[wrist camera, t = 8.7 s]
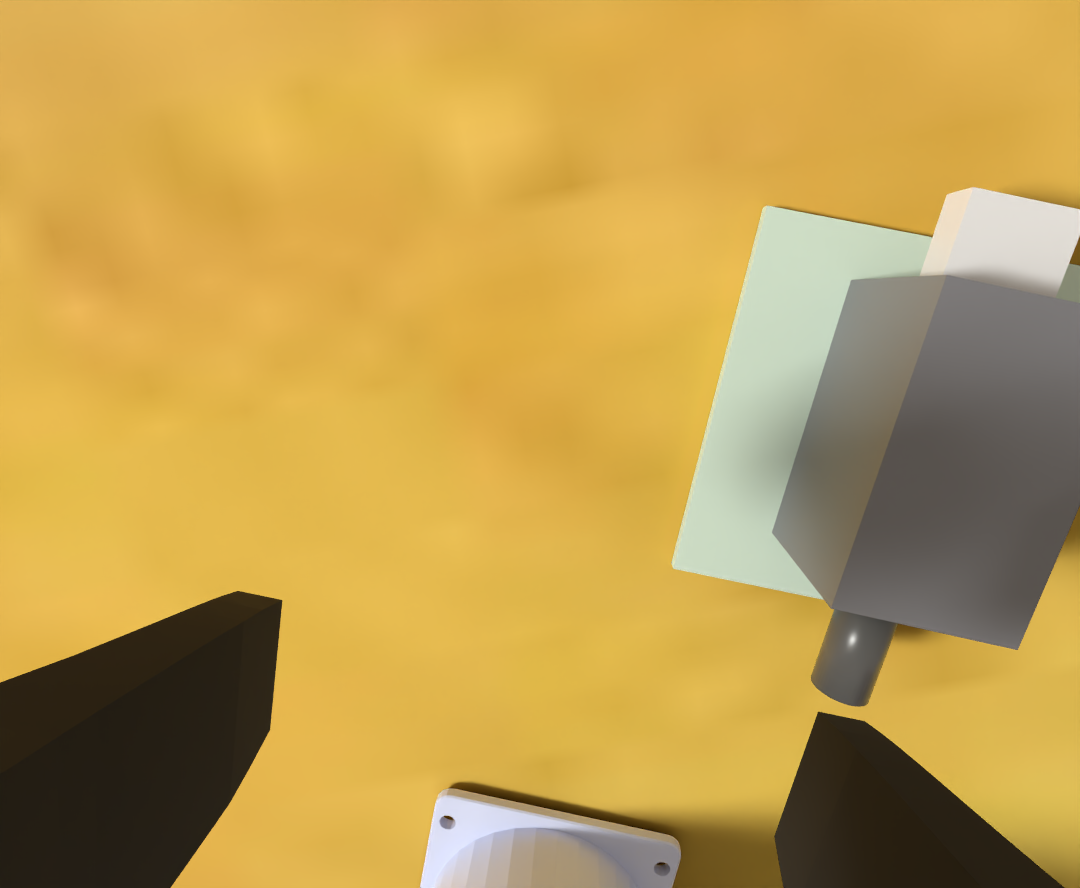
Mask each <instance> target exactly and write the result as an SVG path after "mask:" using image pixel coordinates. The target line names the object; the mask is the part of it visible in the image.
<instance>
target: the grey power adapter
mask: <svg viewBox="0 0 1080 888" xmlns="http://www.w3.org/2000/svg"><path fill="white" fill-rule="evenodd" d="M1079 236H1080V209H1076V208H1071V207H1066V206H1061V205H1056V204H1052V203H1047V202H1042V201H1037V200H1033V199H1028V198H1023V197H1018V196H1014V195H1009V194H1004V193H999V192H994V191H990V190H985V189H980V188H975V187H972V188H968V189H965V190H961V191H957V192H954V193H950V194H947V196H946V199H945V202H944V205H943V208H942V211H941V214H940V217H939V220H938V223H937V226H936V229H935V232H934V235H933V238H932V241H931V243H930V246H929V249H928V252H927V255H926V258H925V261H924V264H923V267H922V270H921V273H920V276H915V277H896V278H877V279H859V280H851V282H850V285H849V288H848V291H847V295H846V298H845V301H844V304H843V307H842V311H841V314H840V317H839V320H838V323H837V326H836V330H835V333H834V336H833V339H832V342H831V346H830V349H829V352H828V355H827V358H826V362H825V365H824V368H823V371H822V374H821V377H820V381H819V384H818V387H817V390H816V393H815V397H814V400H813V403H812V406H811V409H810V412H809V416H808V419H807V422H806V425H805V428H804V432H803V435H802V438H801V441H800V444H799V448H798V451H797V454H796V457H795V460H794V463H793V467H792V470H791V473H790V476H789V479H788V483H787V486H786V489H785V492H784V495H783V498H782V502H781V505H780V508H779V511H778V514H777V518H776V521H775V524H774V527H773V530H772V534H773V535H774V536H775V537H776V539H777V540H778V541H779V542H780V544H781V545H782V546H783V548H784V549H785V550H786V551H787V553H788V554H789V555H790V557H791V558H792V559H793V560H794V562H795V563H796V564H797V566H798V567H799V568H800V569H801V571H802V572H803V573H804V575H805V576H806V577H807V578H808V580H809V581H810V582H811V584H812V585H813V586H814V587H815V589H816V590H817V591H818V592H819V594H820V595H821V596H822V598H823V599H824V600H825V601H826V603H827V604H828V605H829V607H830V608H831V609H834V612H833V615H832V618H831V621H830V624H829V626H828V629H827V632H826V635H825V638H824V641H823V644H822V646H821V649H820V652H819V655H818V658H817V661H816V664H815V666H814V669H813V672H812V675H811V681H812V683H813V684H814V685H815V687H816V688H817V689H819V690H820V691H821V692H822V693H824V694H825V695H827V696H828V697H830V698H832V699H834V700H836V701H838V702H841V703H844V704H847V705H851V706H865V705H867V704H868V702H869V699H870V697H871V694H872V691H873V689H874V686H875V683H876V681H877V678H878V675H879V673H880V670H881V667H882V665H883V662H884V659H885V657H886V654H887V651H888V649H889V646H890V644H891V641H892V638H893V636H894V633H895V630H896V628H897V625H898V623H899V624H903V625H907V626H912V627H916V628H921V629H925V630H930V631H934V632H939V633H943V634H948V635H952V636H957V637H961V638H966V639H970V640H975V641H979V642H984V643H988V644H993V645H997V646H1002V647H1006V648H1011V649H1015V650H1018V648H1019V646H1020V643H1021V641H1022V639H1023V636H1024V634H1025V632H1026V629H1027V627H1028V625H1029V622H1030V620H1031V618H1032V615H1033V613H1034V611H1035V608H1036V606H1037V604H1038V601H1039V599H1040V597H1041V594H1042V592H1043V590H1044V588H1045V585H1046V583H1047V581H1048V578H1049V576H1050V574H1051V571H1052V569H1053V567H1054V564H1055V562H1056V560H1057V557H1058V555H1059V553H1060V550H1061V548H1062V546H1063V543H1064V541H1065V539H1066V536H1067V534H1068V532H1069V529H1070V527H1071V525H1072V522H1073V520H1074V518H1075V516H1076V513H1077V511H1078V509H1079V506H1080V303H1077V302H1072V301H1068V300H1063V299H1058V298H1056V295H1057V293H1058V290H1059V288H1060V285H1061V283H1062V280H1063V277H1064V275H1065V272H1066V270H1067V267H1068V265H1069V262H1070V259H1071V257H1072V254H1073V252H1074V249H1075V247H1076V244H1077V241H1078V239H1079Z"/></svg>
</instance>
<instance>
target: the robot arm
mask: <svg viewBox="0 0 1080 888" xmlns="http://www.w3.org/2000/svg"><path fill="white" fill-rule="evenodd" d="M281 608H282V600H279V599H274V598H269V597H264V596H260V595H255V594H250V593H245V592H240V591H236V592H233V593H230V594H227V595H224V596H221V597H218V598H216V599H213V600H210V601H208V602H205V603H202V604H200V605H197V606H195V607H192V608H190V609H187V610H185V611H183V612H180V613H178V614H175V615H173V616H170V617H168V618H165V619H163V620H161V621H158V622H156V623H153V624H151V625H148V626H146V627H143V628H141V629H138V630H136V631H134V632H131V633H129V634H126V635H124V636H121V637H119V638H116V639H114V640H111V641H109V642H106V643H104V644H101V645H99V646H96V647H94V648H91V649H89V650H86V651H84V652H82V653H79V654H76V655H74V656H71V657H69V658H66V659H63V660H61V661H58V662H55V663H52V664H50V665H47V666H44V667H41V668H39V669H36V670H33V671H31V672H28V673H25V674H22V675H20V676H17V677H14V678H12V679H9V680H6V681H3V682H1V683H0V888H170V887H171V886H172V885H173V883H174V882H175V880H176V879H177V878H178V876H179V875H180V873H181V872H182V871H183V869H184V868H185V866H186V865H187V864H188V862H189V861H190V859H191V858H192V856H193V855H194V854H195V852H196V851H197V849H198V848H199V846H200V845H201V844H202V842H203V841H204V839H205V838H206V836H207V835H208V834H209V832H210V831H211V829H212V828H213V827H214V825H215V824H216V822H217V821H218V819H219V818H220V816H221V815H222V814H223V812H224V811H225V809H226V808H227V806H228V805H229V803H230V802H231V800H232V798H233V796H234V795H235V793H236V791H237V789H238V787H239V786H240V784H241V782H242V780H243V779H244V777H245V775H246V773H247V772H248V770H249V768H250V766H251V764H252V762H253V760H254V759H255V757H256V755H257V753H258V751H259V749H260V747H261V745H262V744H263V742H264V740H265V738H266V736H267V734H268V732H269V731H270V724H271V713H272V703H273V692H274V682H275V671H276V661H277V650H278V639H279V629H280V618H281ZM444 816H451V817H453V818H454V819H453V820H449V819H446V818H445V817H444ZM774 837H775V843H776V848H777V854H778V860H779V865H780V871H781V876H782V882H783V887H784V888H1064V887H1063V886H1062V885H1061V884H1059V883H1058V882H1057V881H1056V880H1054V879H1053V878H1052V877H1051V876H1050V875H1048V874H1047V873H1046V872H1045V871H1044V870H1042V869H1041V868H1040V867H1039V866H1038V865H1036V864H1035V863H1034V862H1033V861H1032V860H1031V859H1029V858H1028V857H1027V856H1026V855H1025V854H1023V853H1022V852H1021V851H1020V850H1019V849H1017V848H1016V847H1015V846H1014V845H1013V844H1012V843H1010V842H1009V841H1008V840H1007V839H1006V838H1005V837H1003V836H1002V835H1001V834H1000V833H999V832H998V831H996V830H995V829H994V828H993V827H992V826H991V825H989V824H988V823H987V822H986V821H985V820H984V819H982V818H981V817H980V816H979V815H978V814H977V813H975V812H974V811H973V810H972V809H971V808H970V807H968V806H967V805H966V804H965V803H964V802H963V801H961V800H960V799H959V798H958V797H957V796H956V795H954V794H953V793H952V792H951V791H950V790H949V789H947V788H946V787H945V786H944V785H943V784H942V783H941V782H939V781H938V780H937V779H936V778H935V777H934V776H932V775H931V774H930V773H929V772H928V771H926V770H925V769H924V768H923V767H922V766H921V765H919V764H918V763H917V762H916V761H915V760H913V759H912V758H911V757H910V756H909V755H907V754H906V753H905V752H904V751H903V750H901V749H900V748H899V747H898V746H897V745H895V744H894V743H893V742H892V741H890V740H889V739H888V738H887V737H885V736H884V735H883V734H881V733H880V732H879V731H877V730H876V729H875V728H873V727H872V726H870V725H869V724H868V723H866V722H865V721H860V720H856V719H851V718H846V717H841V716H836V715H832V714H827V713H822V712H818V714H817V717H816V720H815V722H814V725H813V728H812V731H811V734H810V737H809V740H808V742H807V745H806V748H805V751H804V754H803V757H802V759H801V762H800V765H799V768H798V771H797V774H796V777H795V779H794V782H793V785H792V788H791V791H790V794H789V796H788V799H787V802H786V805H785V808H784V811H783V814H782V816H781V819H780V822H779V825H778V828H777V831H776V833H775V836H774ZM680 860H681V850H680V845H679V843H678V841H677V840H676V839H675V838H674V837H673V836H670V835H667V834H663V833H658V832H653V831H649V830H644V829H639V828H635V827H630V826H626V825H621V824H616V823H612V822H607V821H602V820H598V819H593V818H588V817H584V816H579V815H575V814H570V813H565V812H561V811H556V810H551V809H547V808H542V807H537V806H533V805H528V804H524V803H519V802H514V801H510V800H505V799H500V798H496V797H491V796H486V795H482V794H477V793H472V792H468V791H463V790H459V789H452V788H448V789H445V790H443V791H442V792H440V793H439V795H438V797H437V800H436V804H435V808H434V814H433V819H432V825H431V830H430V836H429V841H428V847H427V852H426V858H425V863H424V869H423V874H422V880H421V885H420V888H672V887H673V883H674V880H675V877H676V873H677V870H678V866H679V863H680ZM659 862H664V863H666V864H664V865H657V863H659Z"/></svg>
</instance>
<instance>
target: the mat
mask: <svg viewBox="0 0 1080 888" xmlns="http://www.w3.org/2000/svg"><path fill="white" fill-rule="evenodd" d="M932 238H933V237H928V236H923V235H918V234H913V233H907V232H902V231H897V230H892V229H887V228H881V227H876V226H871V225H866V224H861V223H855V222H850V221H845V220H840V219H835V218H829V217H824V216H819V215H814V214H808V213H803V212H798V211H793V210H788V209H782V208H777V207H772V206H765V207H763V210H762V214H761V218H760V221H759V225H758V229H757V233H756V237H755V241H754V245H753V249H752V253H751V256H750V260H749V264H748V268H747V272H746V276H745V280H744V284H743V287H742V291H741V295H740V299H739V303H738V307H737V311H736V315H735V318H734V322H733V326H732V330H731V334H730V338H729V342H728V346H727V349H726V353H725V357H724V361H723V365H722V369H721V373H720V377H719V380H718V384H717V388H716V392H715V396H714V400H713V404H712V408H711V412H710V415H709V419H708V423H707V427H706V431H705V435H704V439H703V443H702V446H701V450H700V454H699V458H698V462H697V466H696V470H695V474H694V477H693V481H692V485H691V489H690V493H689V497H688V501H687V505H686V508H685V512H684V516H683V520H682V524H681V528H680V532H679V536H678V539H677V543H676V547H675V551H674V555H673V559H672V566H673V569H678V570H682V571H687V572H692V573H697V574H702V575H707V576H712V577H716V578H721V579H726V580H731V581H736V582H741V583H746V584H750V585H755V586H760V587H765V588H770V589H775V590H780V591H784V592H789V593H794V594H799V595H804V596H809V597H814V598H818V599H823V598H822V596H821V595H820V594H819V592H818V591H817V590H816V589H815V587H814V586H813V585H812V584H811V582H810V581H809V580H808V578H807V577H806V576H805V575H804V573H803V572H802V571H801V569H800V568H799V567H798V566H797V564H796V563H795V562H794V560H793V559H792V558H791V557H790V555H789V554H788V553H787V551H786V550H785V549H784V548H783V546H782V545H781V544H780V542H779V541H778V540H777V539H776V537H775V536H774V535H773V534H772V530H773V527H774V524H775V521H776V518H777V514H778V511H779V508H780V505H781V502H782V498H783V495H784V492H785V489H786V486H787V483H788V479H789V476H790V473H791V470H792V467H793V463H794V460H795V457H796V454H797V451H798V448H799V444H800V441H801V438H802V435H803V432H804V428H805V425H806V422H807V419H808V416H809V412H810V409H811V406H812V403H813V400H814V397H815V393H816V390H817V387H818V384H819V381H820V377H821V374H822V371H823V368H824V365H825V362H826V358H827V355H828V352H829V349H830V346H831V342H832V339H833V336H834V333H835V330H836V326H837V323H838V320H839V317H840V314H841V311H842V307H843V304H844V301H845V298H846V295H847V291H848V288H849V285H850V282H851V280H859V279H877V278H896V277H915V276H920V273H921V270H922V267H923V264H924V261H925V258H926V255H927V252H928V249H929V246H930V243H931V241H932ZM1056 298H1058V299H1063V300H1068V301H1072V302H1077V303H1080V266H1079V265H1074V264H1069V265H1068V267H1067V270H1066V272H1065V275H1064V277H1063V280H1062V283H1061V285H1060V288H1059V290H1058V293H1057V295H1056ZM823 600H824V599H823Z"/></svg>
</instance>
